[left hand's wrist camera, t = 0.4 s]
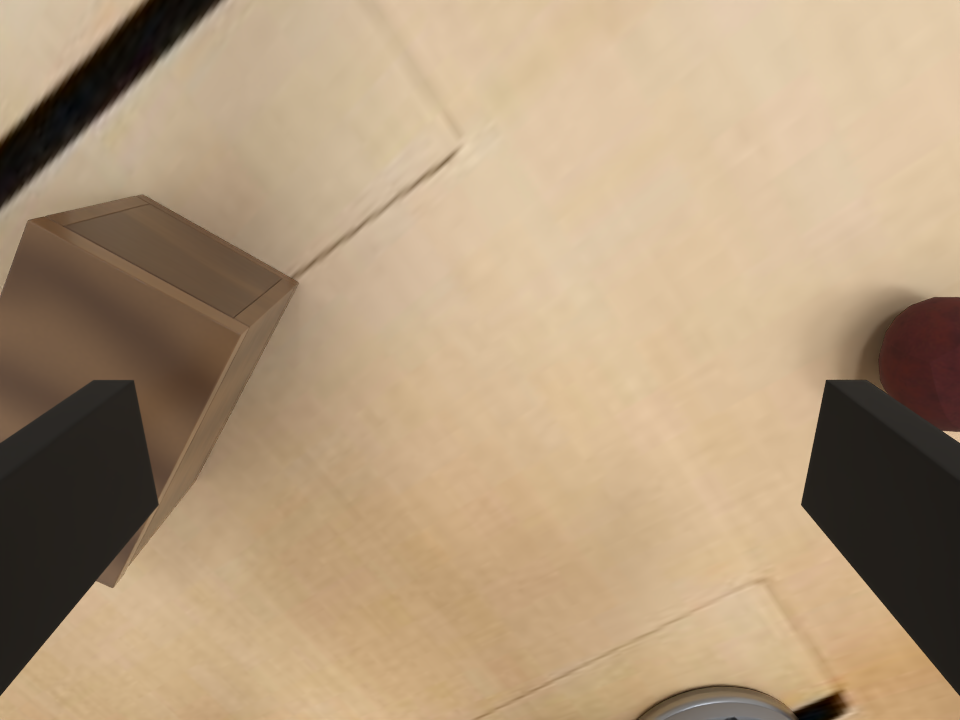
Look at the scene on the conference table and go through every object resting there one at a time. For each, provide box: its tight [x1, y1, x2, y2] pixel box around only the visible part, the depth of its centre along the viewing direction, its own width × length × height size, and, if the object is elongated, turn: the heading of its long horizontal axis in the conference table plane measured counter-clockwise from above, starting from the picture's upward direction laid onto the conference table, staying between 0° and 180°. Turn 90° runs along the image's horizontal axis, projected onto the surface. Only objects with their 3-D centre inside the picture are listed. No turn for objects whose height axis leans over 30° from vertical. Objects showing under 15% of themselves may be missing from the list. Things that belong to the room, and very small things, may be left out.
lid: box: [0, 217, 249, 588], centre depth 29 cm, size 17×10×8 cm, turn 149°
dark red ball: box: [879, 297, 960, 432], centre depth 37 cm, size 7×8×7 cm
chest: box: [45, 195, 298, 566], centre depth 37 cm, size 16×10×9 cm, turn 149°
